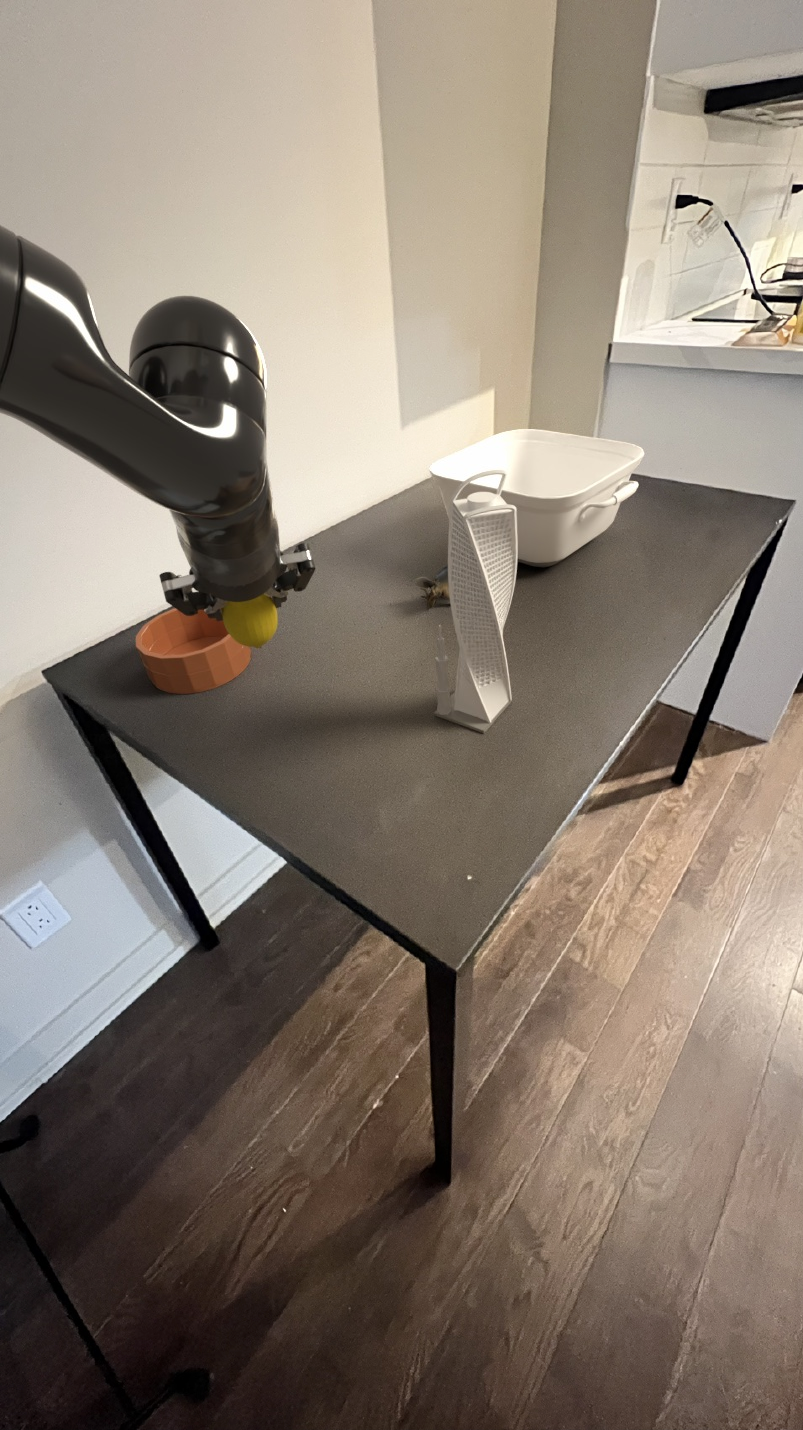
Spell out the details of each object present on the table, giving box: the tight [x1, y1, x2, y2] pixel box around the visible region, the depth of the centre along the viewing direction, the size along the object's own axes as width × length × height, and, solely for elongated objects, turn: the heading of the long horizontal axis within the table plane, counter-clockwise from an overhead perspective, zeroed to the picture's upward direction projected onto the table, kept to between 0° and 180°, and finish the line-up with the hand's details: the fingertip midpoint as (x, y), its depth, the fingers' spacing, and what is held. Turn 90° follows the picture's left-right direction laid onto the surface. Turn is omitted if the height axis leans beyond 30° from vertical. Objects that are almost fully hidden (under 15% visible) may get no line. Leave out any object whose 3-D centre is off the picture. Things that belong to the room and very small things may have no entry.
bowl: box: [135, 607, 252, 695], centre depth 89 cm, size 15×15×6 cm
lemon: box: [221, 594, 279, 649], centre depth 65 cm, size 6×6×8 cm
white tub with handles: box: [428, 428, 645, 568], centre depth 108 cm, size 34×29×15 cm
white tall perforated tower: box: [434, 470, 518, 734], centre depth 69 cm, size 8×8×28 cm
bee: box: [414, 565, 450, 611], centre depth 97 cm, size 8×7×9 cm
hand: (247, 605), depth 66 cm, fingers closed on lemon, 5 cm apart
